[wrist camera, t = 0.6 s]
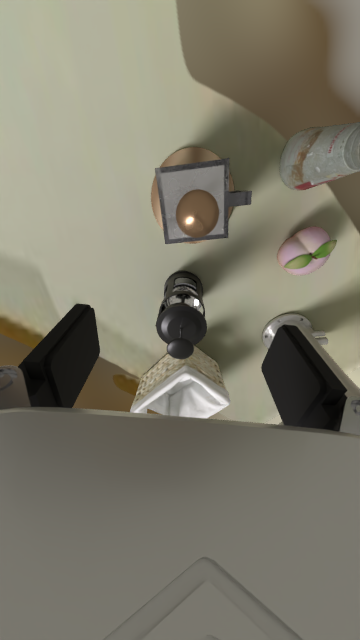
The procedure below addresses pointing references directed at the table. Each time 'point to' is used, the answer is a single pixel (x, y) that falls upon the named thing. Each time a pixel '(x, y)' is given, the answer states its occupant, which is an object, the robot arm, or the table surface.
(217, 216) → the plunger
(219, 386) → the storage basket
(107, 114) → the table surface
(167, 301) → the french press
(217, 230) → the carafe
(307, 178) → the bottle
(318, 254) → the decorative fruit
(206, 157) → the coaster
